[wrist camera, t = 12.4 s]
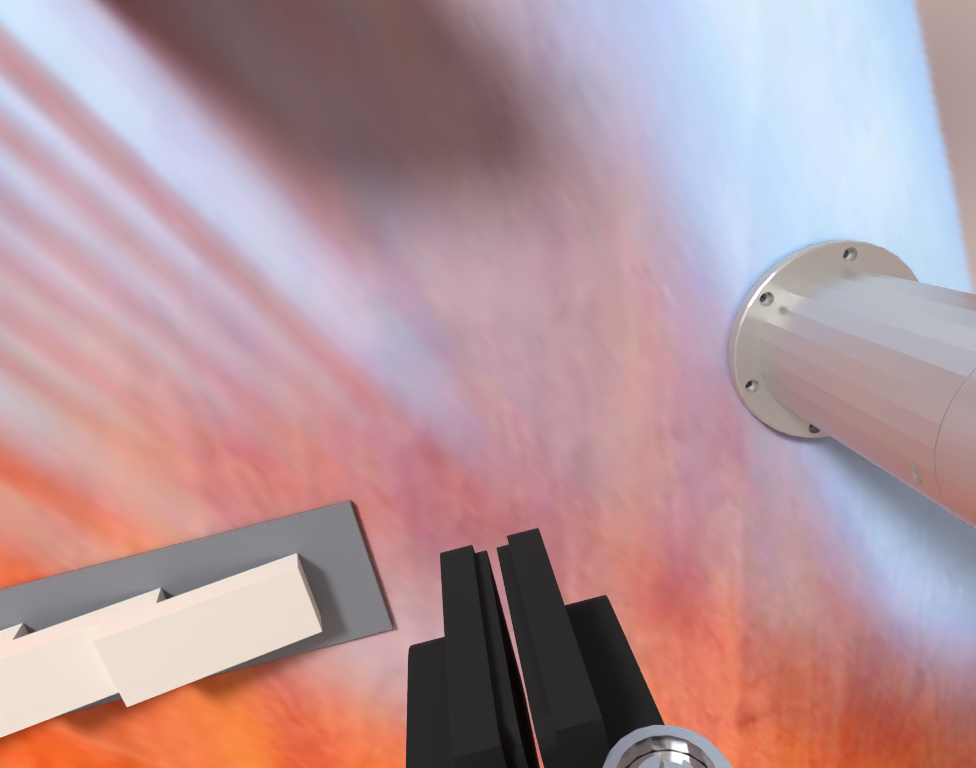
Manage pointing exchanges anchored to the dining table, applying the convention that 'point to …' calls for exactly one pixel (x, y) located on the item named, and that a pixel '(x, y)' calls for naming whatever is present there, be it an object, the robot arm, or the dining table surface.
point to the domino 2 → (208, 629)
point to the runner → (190, 565)
